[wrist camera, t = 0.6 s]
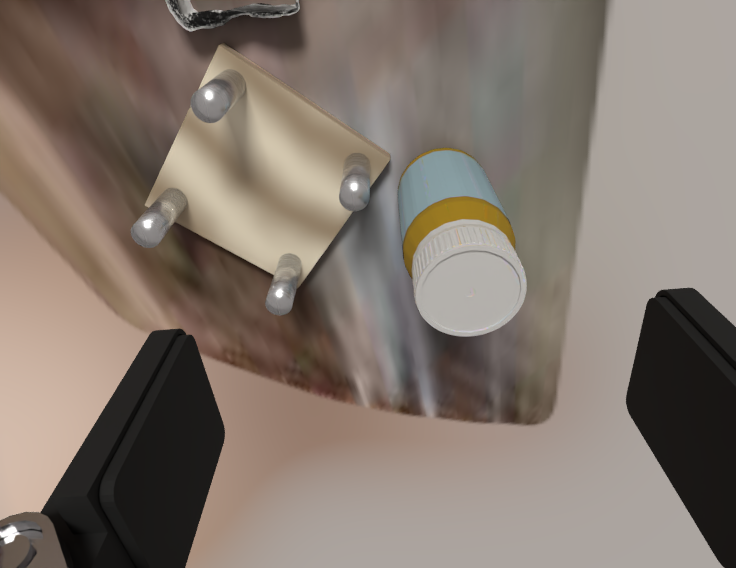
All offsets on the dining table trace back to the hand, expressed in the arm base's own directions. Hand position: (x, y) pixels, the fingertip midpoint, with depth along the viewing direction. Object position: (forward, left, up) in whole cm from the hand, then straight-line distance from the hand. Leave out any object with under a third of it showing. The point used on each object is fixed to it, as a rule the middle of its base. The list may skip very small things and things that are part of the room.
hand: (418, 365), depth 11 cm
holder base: (+12, -4, -30) cm, 32 cm away
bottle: (+5, +8, -30) cm, 32 cm away
